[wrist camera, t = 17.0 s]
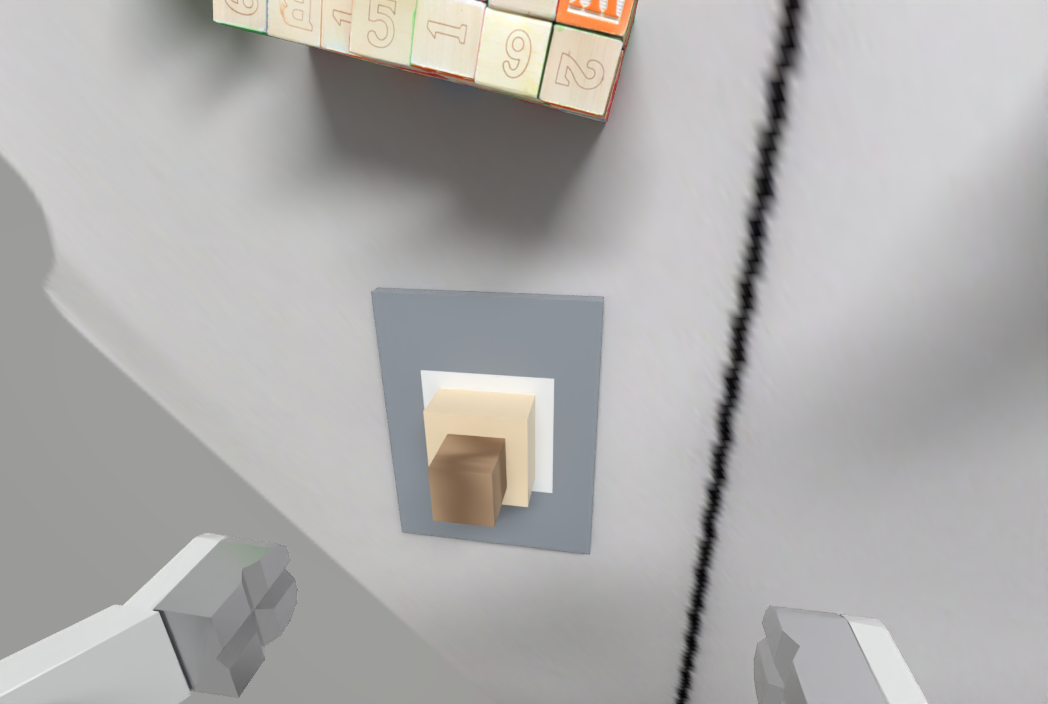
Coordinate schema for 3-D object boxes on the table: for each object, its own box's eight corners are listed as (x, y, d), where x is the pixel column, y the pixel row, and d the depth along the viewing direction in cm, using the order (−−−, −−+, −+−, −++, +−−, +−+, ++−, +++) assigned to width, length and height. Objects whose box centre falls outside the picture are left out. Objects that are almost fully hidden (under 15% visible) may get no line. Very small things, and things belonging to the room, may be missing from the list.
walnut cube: (505, 438, 38) (491, 474, 34) (506, 487, 40) (494, 527, 36) (447, 433, 39) (427, 468, 35) (451, 482, 41) (433, 520, 37)
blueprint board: (603, 296, 38) (601, 319, 34) (590, 544, 48) (587, 589, 43) (377, 287, 41) (346, 307, 36) (406, 523, 50) (384, 563, 46)
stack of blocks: (307, 48, 35) (162, 7, 24) (311, -64, 33) (151, -167, 21) (608, 123, 34) (604, 118, 23) (638, 14, 31) (650, -53, 20)
